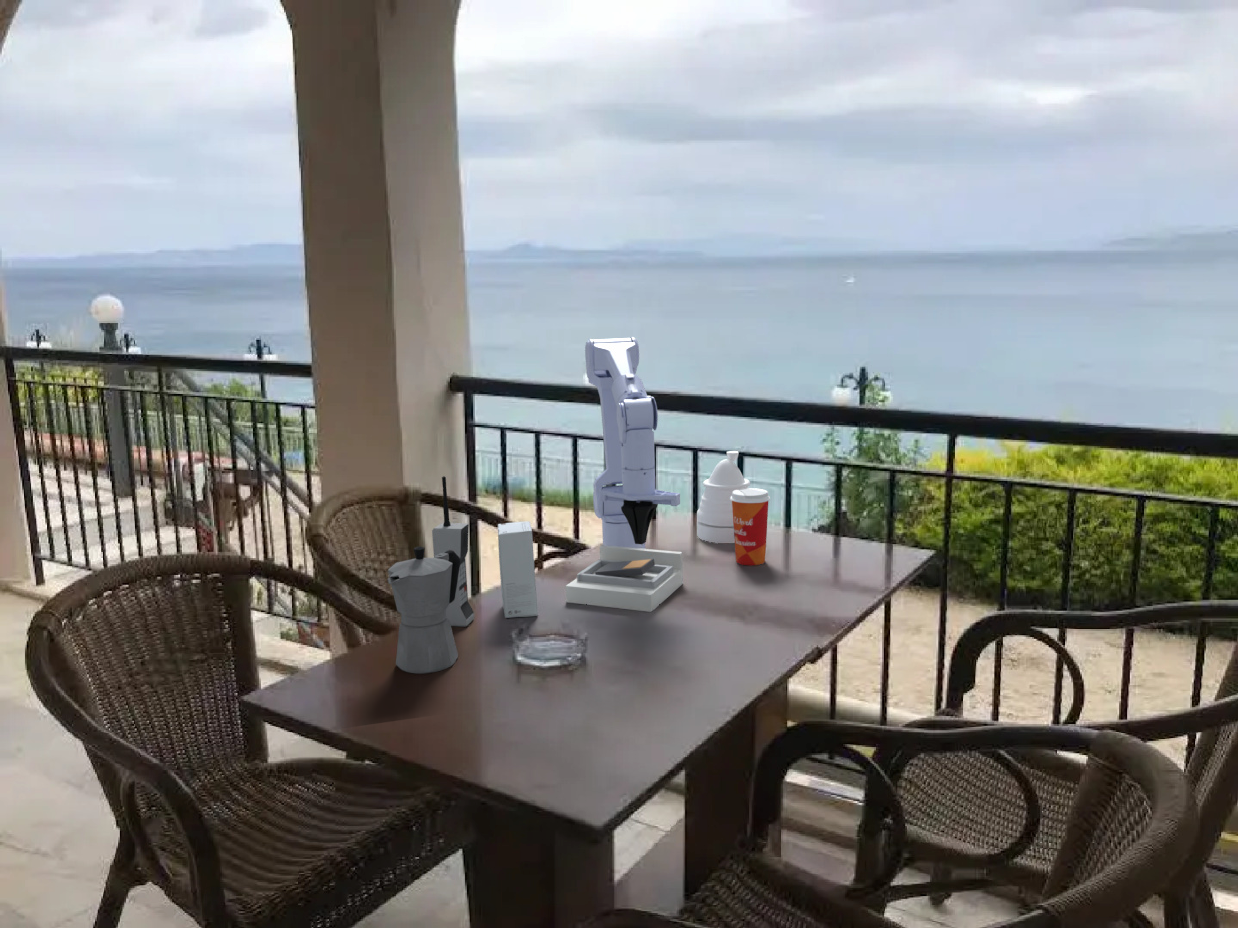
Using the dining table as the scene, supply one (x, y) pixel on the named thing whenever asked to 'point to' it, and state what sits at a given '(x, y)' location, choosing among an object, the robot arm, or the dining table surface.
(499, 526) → the skincare box
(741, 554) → the paper cup
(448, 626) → the coffeepot
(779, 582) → the dining table surface
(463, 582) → the vintage mobile phone
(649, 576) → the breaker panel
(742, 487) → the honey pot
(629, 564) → the block
